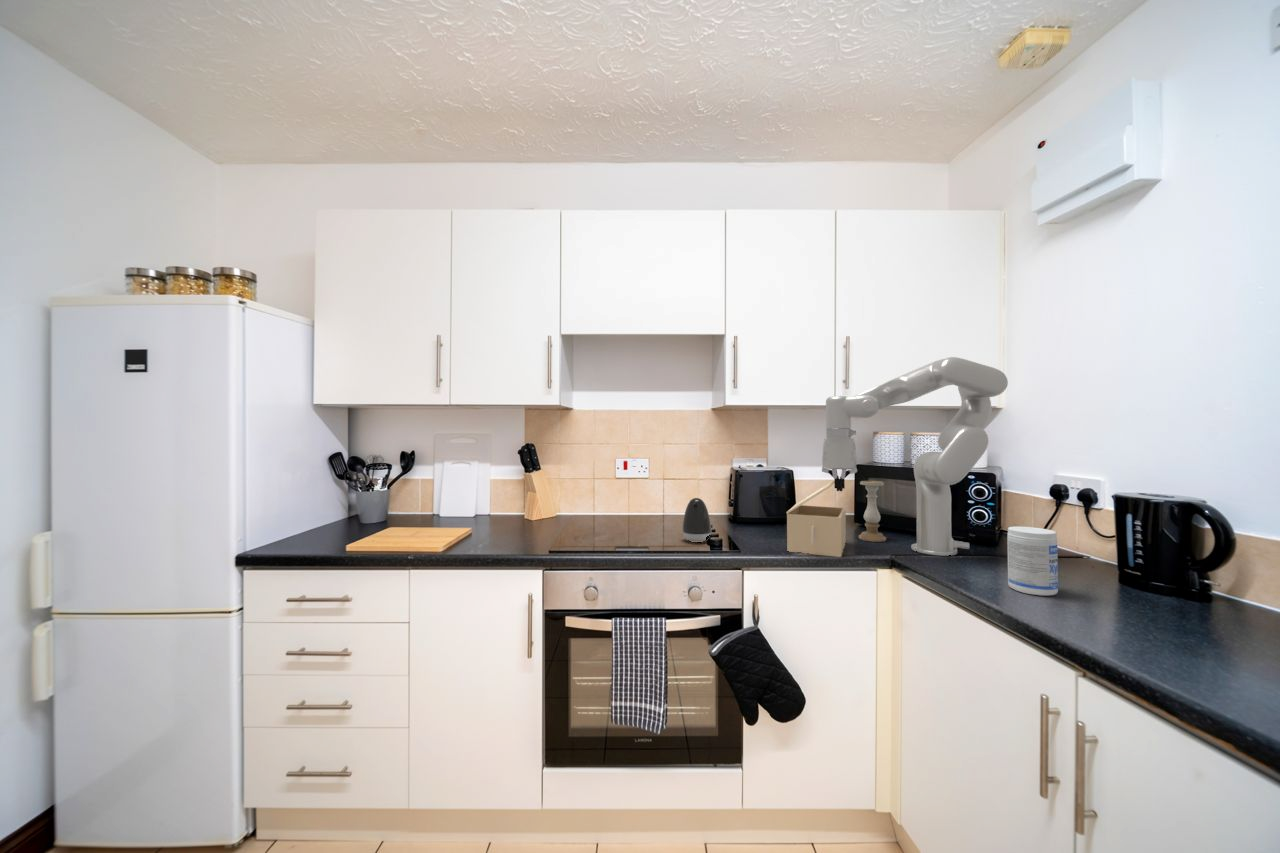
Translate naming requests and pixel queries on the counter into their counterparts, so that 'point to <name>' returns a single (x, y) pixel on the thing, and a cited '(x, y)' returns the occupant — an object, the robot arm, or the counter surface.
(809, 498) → the lid flap
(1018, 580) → the supplement tub
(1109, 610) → the counter surface
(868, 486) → the candle holder
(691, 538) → the dark grey domed cylinder
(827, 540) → the carton
